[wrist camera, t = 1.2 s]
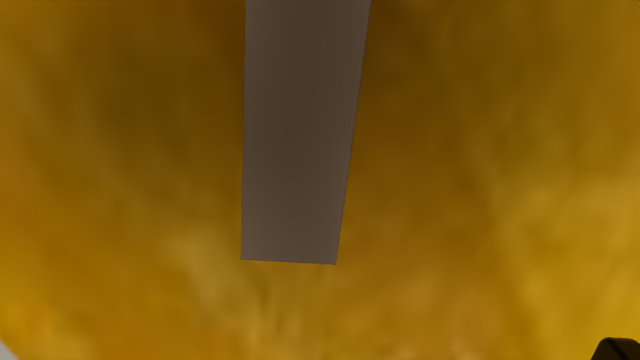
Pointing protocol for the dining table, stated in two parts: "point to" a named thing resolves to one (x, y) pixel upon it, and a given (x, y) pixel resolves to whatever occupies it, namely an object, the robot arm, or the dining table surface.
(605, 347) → the robot arm
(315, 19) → the walnut batten
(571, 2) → the dining table surface
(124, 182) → the dining table surface
